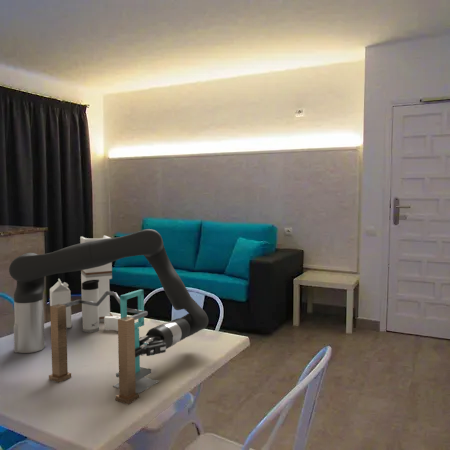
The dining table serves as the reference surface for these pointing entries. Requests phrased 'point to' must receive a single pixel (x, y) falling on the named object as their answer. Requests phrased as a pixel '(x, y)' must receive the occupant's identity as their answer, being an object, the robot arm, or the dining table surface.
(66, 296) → the milk carton
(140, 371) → the turquoise post on base
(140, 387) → the slate pad
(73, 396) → the dining table surface
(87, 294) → the travel mug
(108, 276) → the tall white tower
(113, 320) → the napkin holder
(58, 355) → the bent wire rig
